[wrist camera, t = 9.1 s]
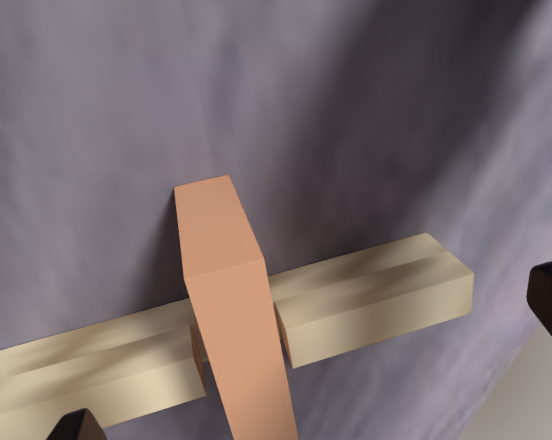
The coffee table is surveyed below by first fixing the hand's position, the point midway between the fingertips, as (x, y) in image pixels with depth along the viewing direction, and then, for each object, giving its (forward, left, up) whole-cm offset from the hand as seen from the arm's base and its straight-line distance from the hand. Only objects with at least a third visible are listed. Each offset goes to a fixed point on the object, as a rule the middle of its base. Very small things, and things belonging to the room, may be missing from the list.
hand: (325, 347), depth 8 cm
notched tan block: (+2, +8, -12) cm, 14 cm away
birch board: (+2, +8, -12) cm, 14 cm away
